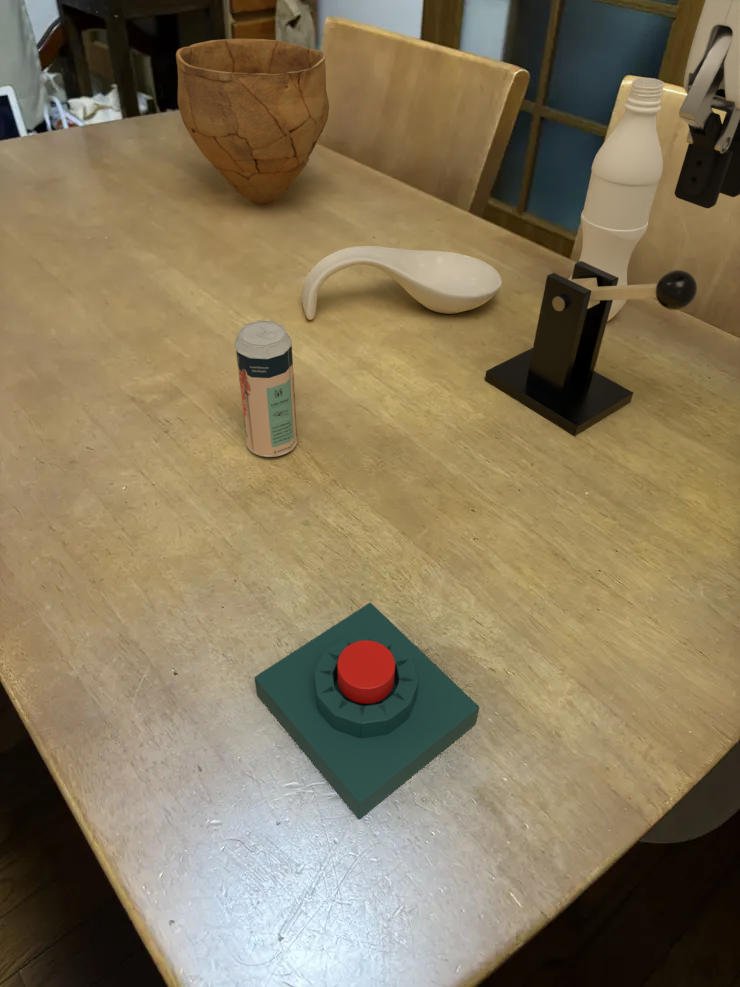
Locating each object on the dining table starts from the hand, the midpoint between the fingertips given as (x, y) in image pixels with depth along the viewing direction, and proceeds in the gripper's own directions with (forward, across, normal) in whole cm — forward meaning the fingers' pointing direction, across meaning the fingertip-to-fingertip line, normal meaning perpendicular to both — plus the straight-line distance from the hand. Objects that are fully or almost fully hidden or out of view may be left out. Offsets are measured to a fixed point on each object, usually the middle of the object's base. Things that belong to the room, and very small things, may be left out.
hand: (707, 194), depth 57 cm
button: (+20, -39, -7) cm, 44 cm away
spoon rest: (+23, -1, +32) cm, 40 cm away
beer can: (+23, -28, +20) cm, 42 cm away
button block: (+23, -39, -7) cm, 46 cm away
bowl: (+23, +3, +68) cm, 72 cm away
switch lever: (+12, 0, +4) cm, 12 cm away
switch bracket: (+23, 0, +9) cm, 25 cm away
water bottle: (+23, +16, +17) cm, 33 cm away
